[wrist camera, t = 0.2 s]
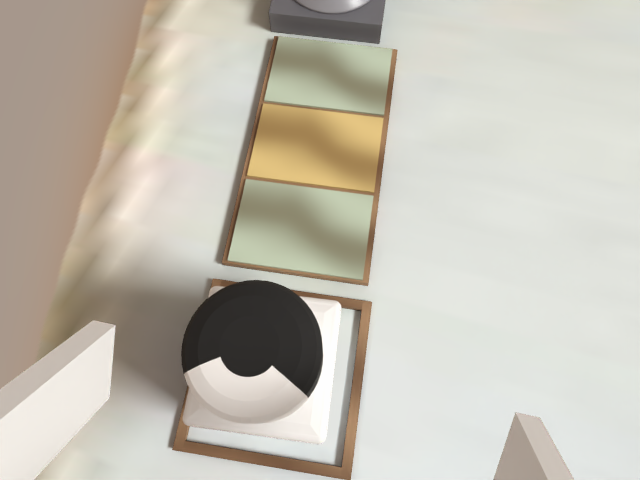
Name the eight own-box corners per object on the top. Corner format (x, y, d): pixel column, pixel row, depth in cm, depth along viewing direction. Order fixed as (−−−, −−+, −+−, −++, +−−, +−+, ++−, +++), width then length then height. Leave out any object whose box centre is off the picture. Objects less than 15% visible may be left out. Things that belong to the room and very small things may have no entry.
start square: (350, 479, 29) (350, 480, 29) (174, 449, 30) (172, 449, 30) (371, 303, 33) (372, 301, 33) (214, 280, 34) (212, 278, 33)
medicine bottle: (233, 311, 33) (184, 254, 22) (339, 324, 33) (345, 273, 21) (211, 424, 31) (143, 425, 19) (325, 440, 30) (324, 451, 19)
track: (367, 285, 34) (368, 282, 33) (223, 265, 34) (221, 261, 33) (396, 55, 40) (397, 47, 39) (275, 41, 41) (274, 34, 40)
